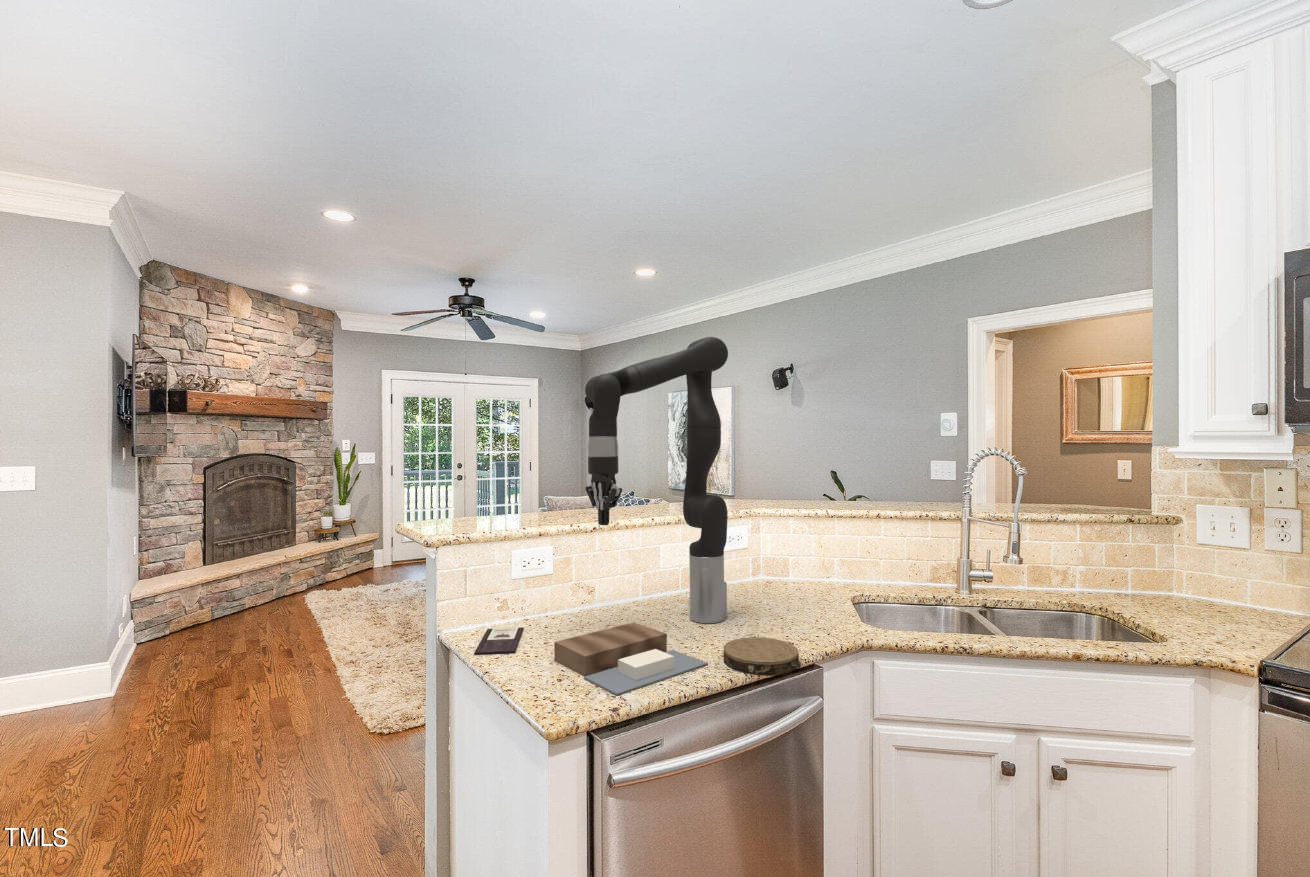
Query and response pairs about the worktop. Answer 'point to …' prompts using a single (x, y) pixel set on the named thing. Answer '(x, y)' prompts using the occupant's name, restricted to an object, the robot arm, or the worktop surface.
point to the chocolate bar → (499, 641)
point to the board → (607, 647)
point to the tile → (645, 664)
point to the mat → (623, 684)
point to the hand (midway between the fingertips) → (603, 524)
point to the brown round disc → (761, 656)
